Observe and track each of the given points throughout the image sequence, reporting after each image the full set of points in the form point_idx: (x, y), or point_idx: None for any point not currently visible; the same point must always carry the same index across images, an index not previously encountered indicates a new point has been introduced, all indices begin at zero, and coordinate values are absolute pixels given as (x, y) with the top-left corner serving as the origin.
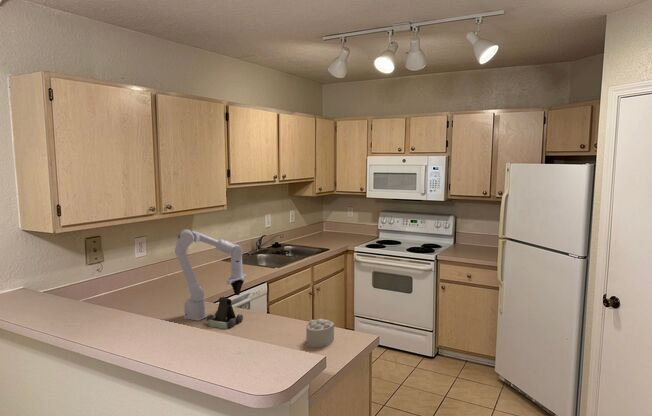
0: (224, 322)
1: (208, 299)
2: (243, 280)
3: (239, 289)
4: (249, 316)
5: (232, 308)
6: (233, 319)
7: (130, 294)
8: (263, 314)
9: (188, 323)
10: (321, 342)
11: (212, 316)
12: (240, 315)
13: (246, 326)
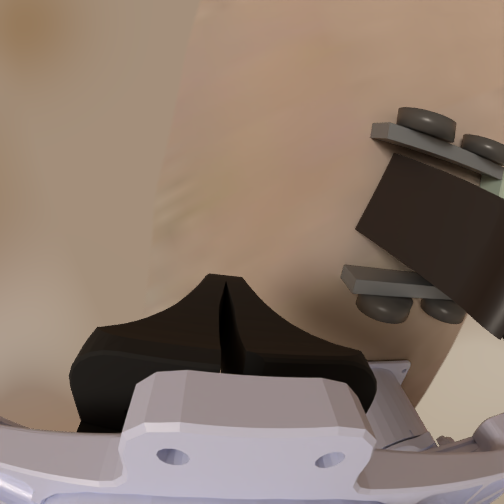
0: (500, 192)
1: None
2: (87, 363)
3: (233, 301)
4: (282, 98)
5: (481, 188)
6: (498, 143)
7: None
8: (209, 18)
9: (430, 376)
10: None
11: (447, 304)
12: (442, 116)
13: (446, 66)
